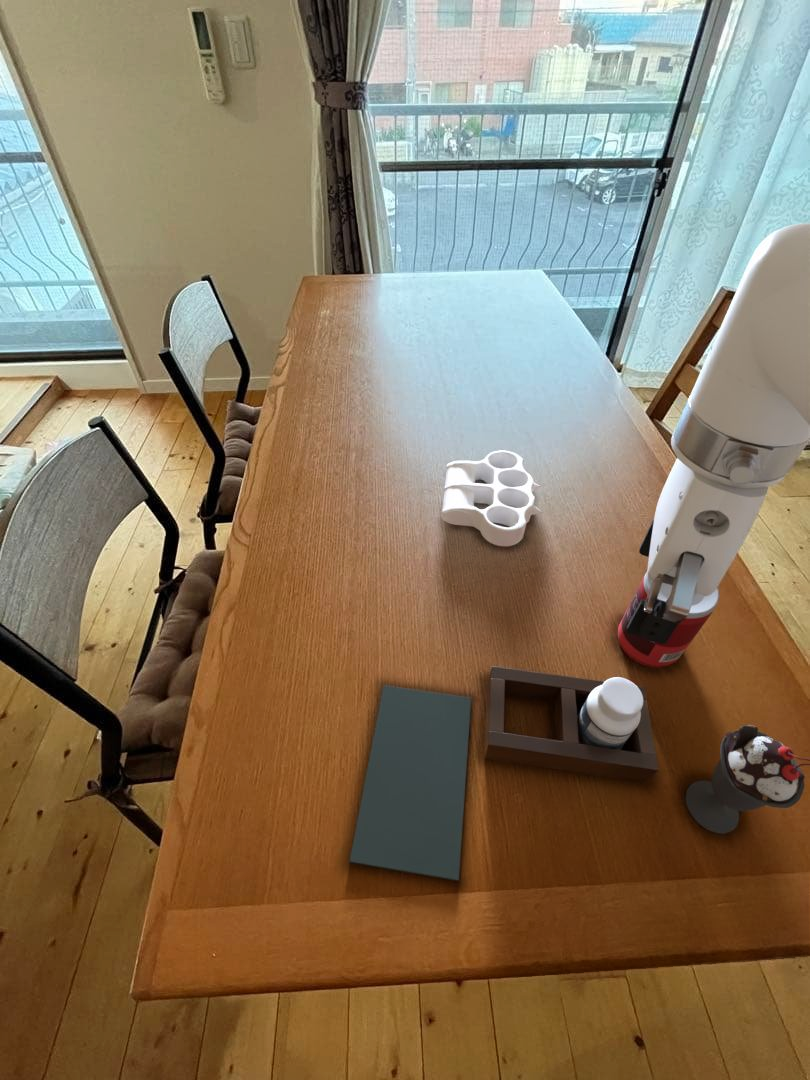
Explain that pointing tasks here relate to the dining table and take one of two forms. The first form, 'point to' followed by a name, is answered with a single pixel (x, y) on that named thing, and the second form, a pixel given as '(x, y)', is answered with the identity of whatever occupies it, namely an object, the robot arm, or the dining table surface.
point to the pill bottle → (610, 714)
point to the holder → (563, 729)
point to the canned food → (681, 637)
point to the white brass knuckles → (490, 496)
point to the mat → (415, 785)
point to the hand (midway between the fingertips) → (650, 593)
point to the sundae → (746, 780)
